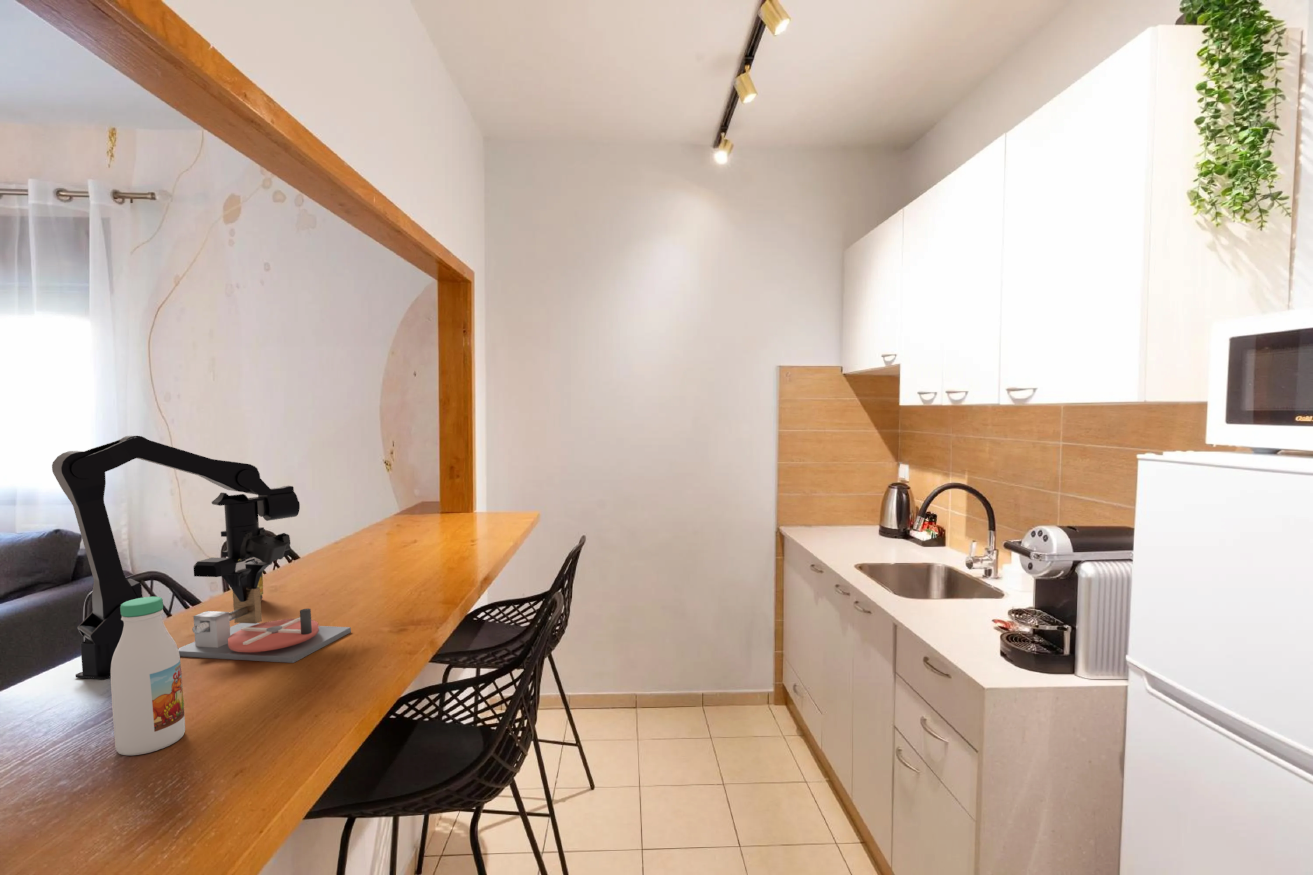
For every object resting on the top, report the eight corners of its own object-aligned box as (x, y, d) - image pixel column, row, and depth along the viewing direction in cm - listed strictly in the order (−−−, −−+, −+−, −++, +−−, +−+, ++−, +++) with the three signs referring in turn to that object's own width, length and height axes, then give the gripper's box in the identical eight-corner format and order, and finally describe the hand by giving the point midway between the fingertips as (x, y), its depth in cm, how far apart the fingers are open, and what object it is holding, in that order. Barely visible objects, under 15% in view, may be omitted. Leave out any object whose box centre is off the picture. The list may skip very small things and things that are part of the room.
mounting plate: (293, 662, 119) (291, 625, 118) (172, 655, 124) (170, 619, 124) (350, 632, 135) (349, 598, 134) (241, 626, 140) (239, 594, 139)
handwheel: (281, 654, 117) (279, 623, 117) (208, 650, 120) (206, 620, 120) (337, 625, 132) (335, 598, 132) (270, 622, 135) (269, 596, 135)
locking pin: (208, 643, 123) (205, 606, 122) (185, 642, 124) (183, 605, 123) (261, 620, 135) (259, 587, 135) (240, 619, 136) (238, 586, 136)
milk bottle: (129, 763, 86) (118, 612, 85) (105, 748, 90) (95, 604, 89) (196, 736, 92) (186, 596, 91) (171, 723, 97) (161, 589, 95)
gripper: (238, 534, 123) (243, 616, 124) (309, 516, 142) (313, 588, 142) (188, 533, 125) (194, 614, 126) (264, 516, 144) (268, 586, 145)
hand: (246, 600), depth 135 cm, fingers closed on locking pin, 2 cm apart
